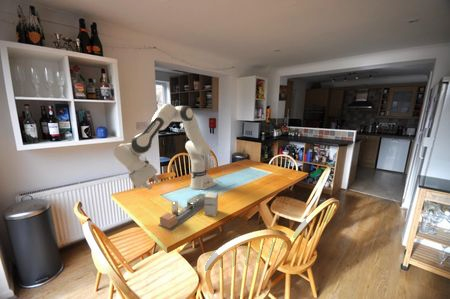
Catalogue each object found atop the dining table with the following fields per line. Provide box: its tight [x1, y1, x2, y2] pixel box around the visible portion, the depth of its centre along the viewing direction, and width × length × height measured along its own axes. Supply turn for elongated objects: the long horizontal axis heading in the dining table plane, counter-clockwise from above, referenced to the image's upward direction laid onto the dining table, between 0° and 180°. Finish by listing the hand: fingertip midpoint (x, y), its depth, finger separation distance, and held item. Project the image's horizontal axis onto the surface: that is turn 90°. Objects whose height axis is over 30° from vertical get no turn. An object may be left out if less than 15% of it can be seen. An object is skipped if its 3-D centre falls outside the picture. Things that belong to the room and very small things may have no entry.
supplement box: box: [204, 191, 219, 217], centre depth 125 cm, size 7×7×13 cm
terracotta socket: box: [159, 212, 178, 228], centre depth 112 cm, size 6×8×5 cm
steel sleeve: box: [186, 193, 206, 211], centre depth 133 cm, size 14×5×5 cm, turn 150°
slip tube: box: [171, 200, 193, 217], centre depth 120 cm, size 21×4×10 cm, turn 150°
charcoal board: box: [158, 203, 205, 232], centre depth 125 cm, size 37×10×1 cm, turn 150°
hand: (154, 185), depth 115 cm, fingers open, 8 cm apart
